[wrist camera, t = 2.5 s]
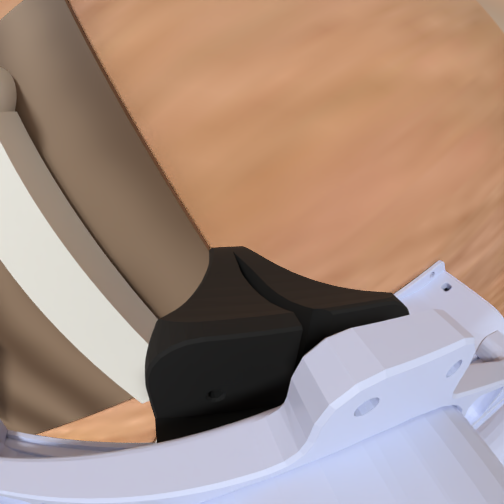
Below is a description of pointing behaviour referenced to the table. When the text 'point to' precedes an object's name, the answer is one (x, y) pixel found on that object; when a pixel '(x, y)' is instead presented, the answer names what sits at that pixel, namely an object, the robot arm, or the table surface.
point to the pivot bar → (66, 260)
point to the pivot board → (84, 214)
